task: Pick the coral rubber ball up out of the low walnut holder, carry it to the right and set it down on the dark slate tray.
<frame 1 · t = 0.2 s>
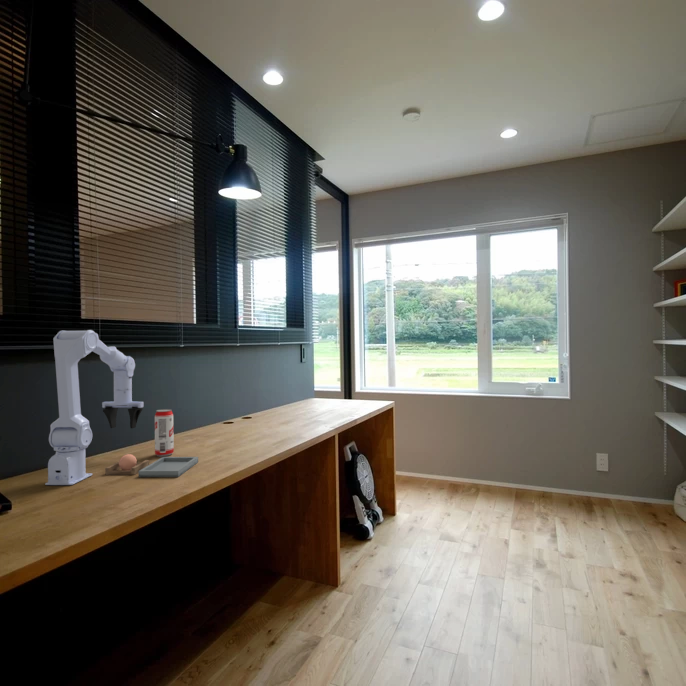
hand: (123, 427, 151), 10 cm above the table, fingers open, 7 cm apart
ball: (127, 462, 133), point 2 cm above the table
beer can: (164, 455, 152), on the table
tray: (170, 469, 134), on the table
holder: (127, 470, 133), on the table
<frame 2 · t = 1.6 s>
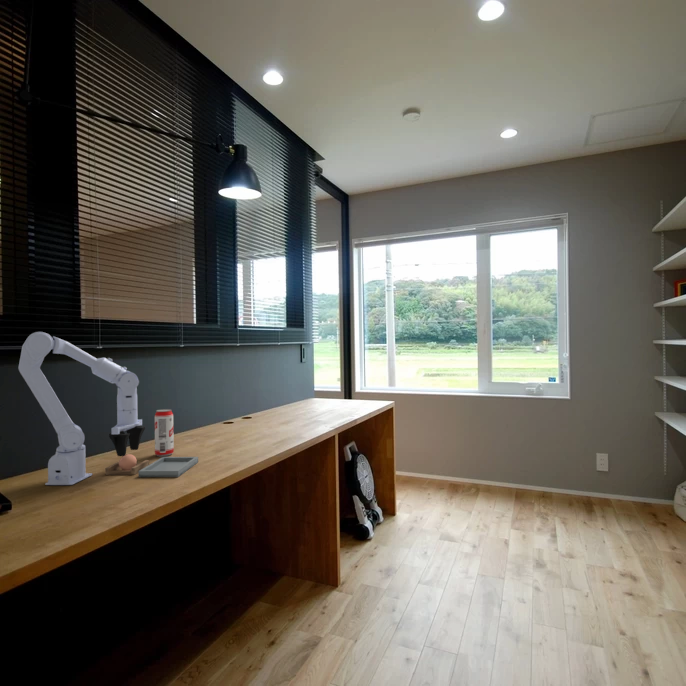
hand: (128, 452, 133), 6 cm above the table, fingers open, 7 cm apart
nothing on the table moved.
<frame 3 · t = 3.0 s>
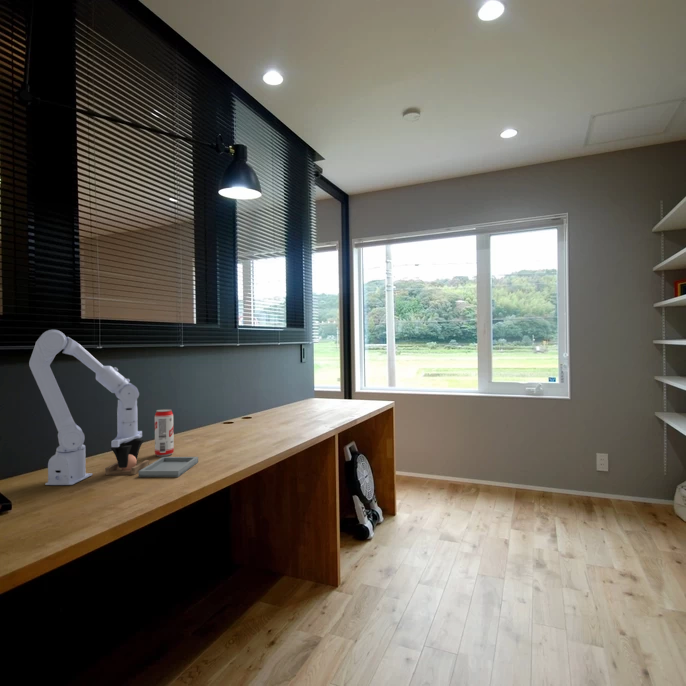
hand: (127, 464, 133), 2 cm above the table, fingers closed on ball, 5 cm apart
ball: (127, 462, 133), point 2 cm above the table, touching gripper
everything else where it was.
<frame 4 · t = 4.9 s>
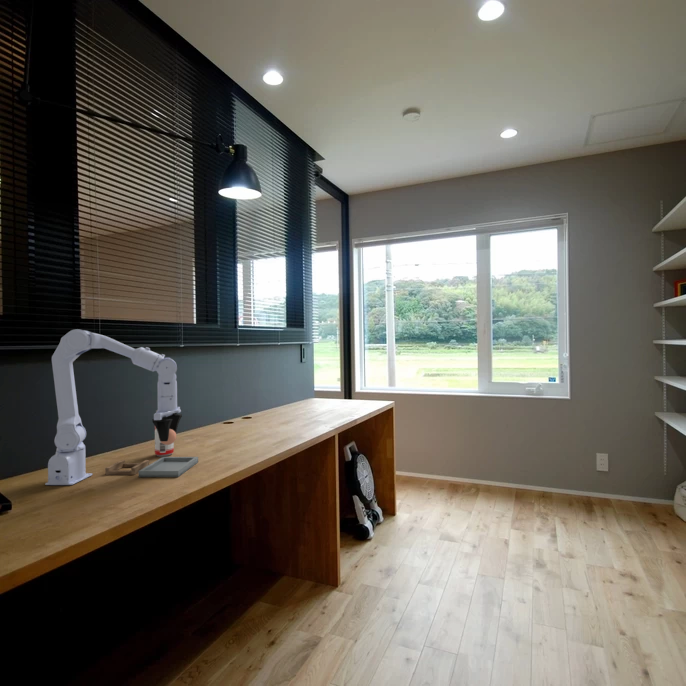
hand: (167, 439, 134), 9 cm above the table, fingers closed on ball, 5 cm apart
ball: (167, 436, 134), point 10 cm above the table, touching gripper
everything else where it was.
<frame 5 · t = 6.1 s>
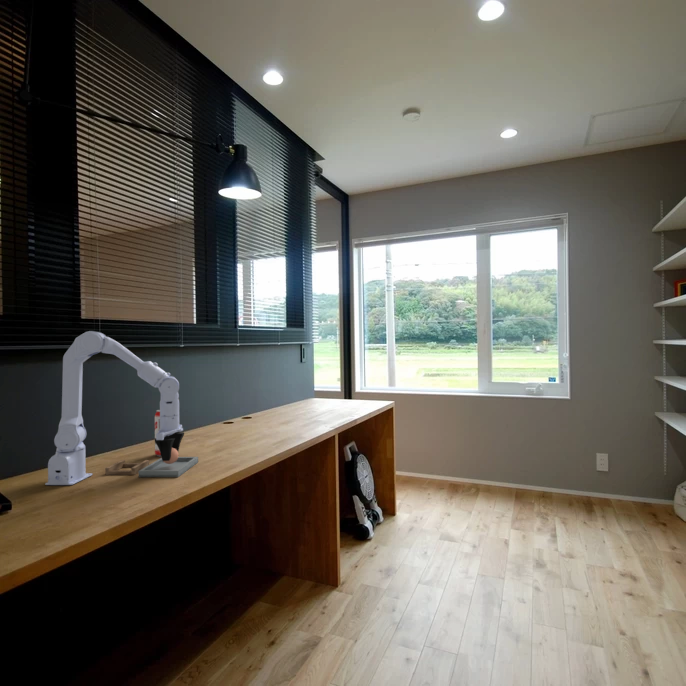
hand: (170, 458, 134), 4 cm above the table, fingers closed on ball, 5 cm apart
ball: (170, 455, 134), point 4 cm above the table, touching gripper
everything else where it was.
when the fingers open (3 cm above the table, at t = 7.1 s): ball stays where it is, resting on tray.
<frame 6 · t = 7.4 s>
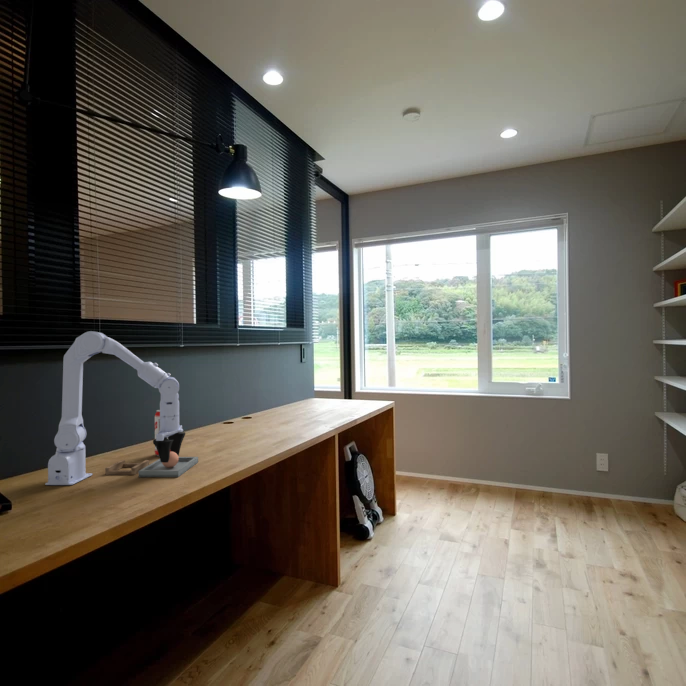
hand: (170, 458, 134), 3 cm above the table, fingers open, 7 cm apart
ball: (170, 459, 134), point 3 cm above the table, touching tray
everything else where it was.
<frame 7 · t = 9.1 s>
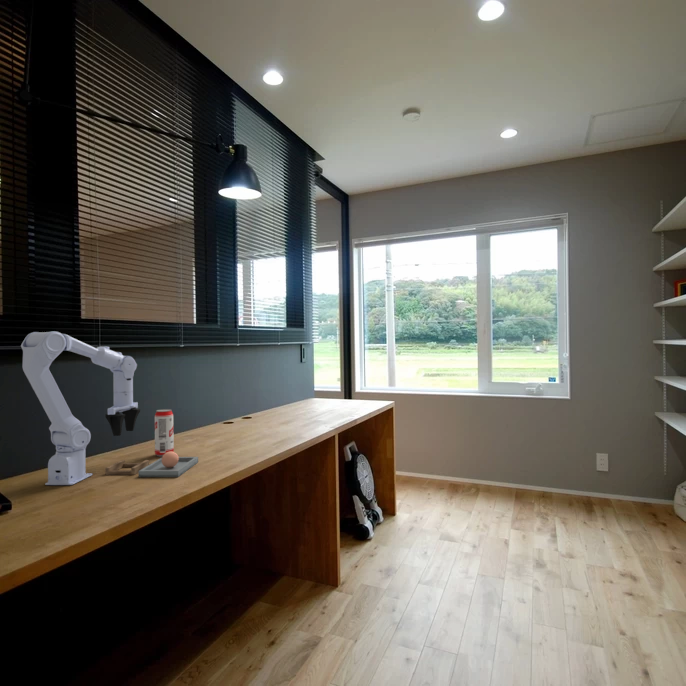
hand: (123, 433, 140), 10 cm above the table, fingers open, 7 cm apart
nothing on the table moved.
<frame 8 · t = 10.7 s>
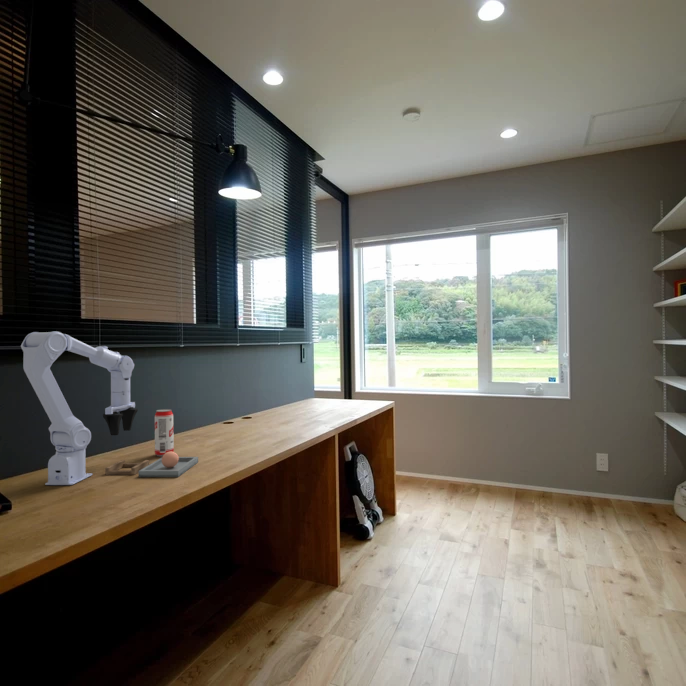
hand: (121, 432, 140), 10 cm above the table, fingers open, 7 cm apart
nothing on the table moved.
at the end: ball inside the target area on the tray (0.1 cm from its centre), point 3.1 cm above the tray's base; the gripper is holding nothing; ball moved 13.1 cm from its start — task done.
